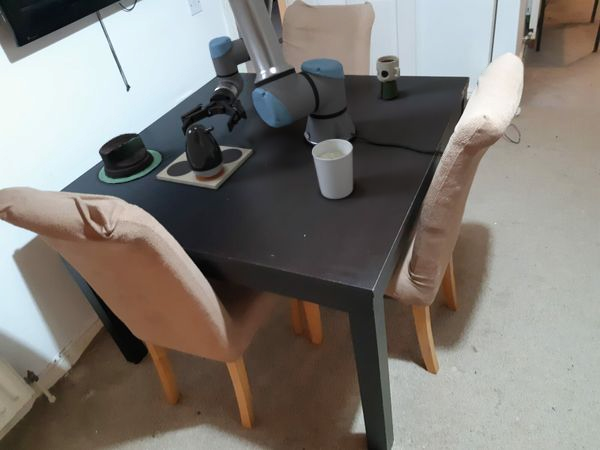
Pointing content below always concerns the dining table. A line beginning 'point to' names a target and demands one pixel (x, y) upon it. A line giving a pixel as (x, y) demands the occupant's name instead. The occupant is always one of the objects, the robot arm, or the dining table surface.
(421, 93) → the dining table surface
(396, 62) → the character mug
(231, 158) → the hob plate
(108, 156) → the black green hat
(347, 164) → the candle holder
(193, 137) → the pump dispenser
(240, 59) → the robot arm
